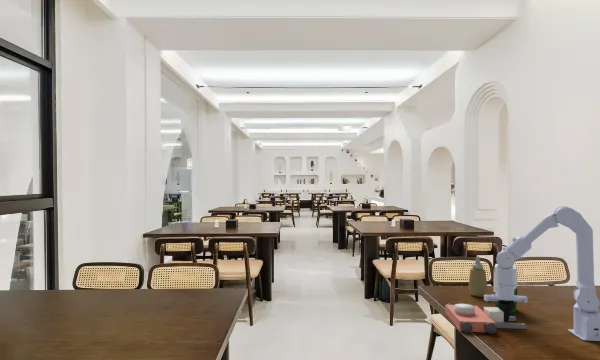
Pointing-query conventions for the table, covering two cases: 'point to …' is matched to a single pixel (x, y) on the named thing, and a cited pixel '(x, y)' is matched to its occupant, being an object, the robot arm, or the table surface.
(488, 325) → the forklift
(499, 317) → the white block
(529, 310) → the table surface
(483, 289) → the squeeze bottle
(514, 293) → the milk carton
